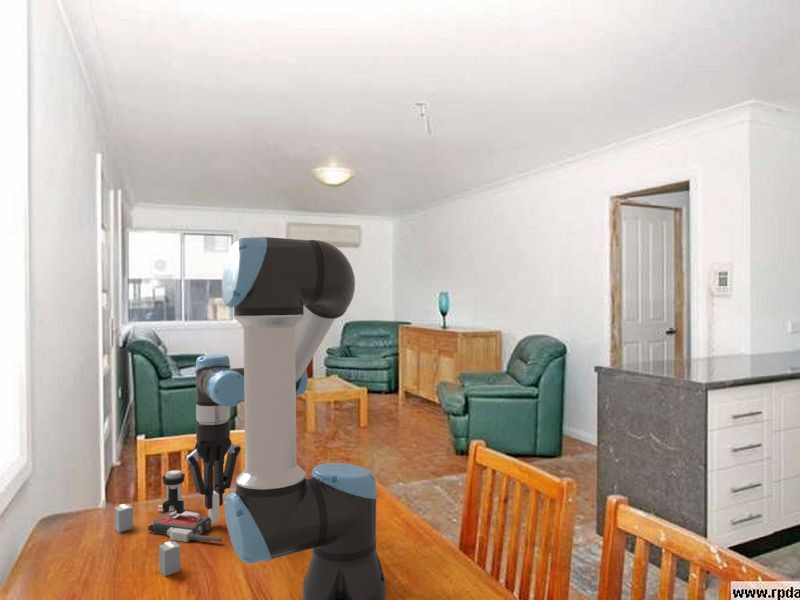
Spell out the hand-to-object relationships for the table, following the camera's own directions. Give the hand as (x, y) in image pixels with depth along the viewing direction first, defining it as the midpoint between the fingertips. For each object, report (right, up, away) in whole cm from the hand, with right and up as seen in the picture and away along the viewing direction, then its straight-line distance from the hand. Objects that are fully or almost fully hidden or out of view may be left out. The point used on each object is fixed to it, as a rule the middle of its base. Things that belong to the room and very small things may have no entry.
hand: (213, 520), depth 132 cm
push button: (-14, -2, +9) cm, 16 cm away
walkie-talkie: (-4, -2, -3) cm, 6 cm away
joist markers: (-11, -2, -11) cm, 16 cm away
